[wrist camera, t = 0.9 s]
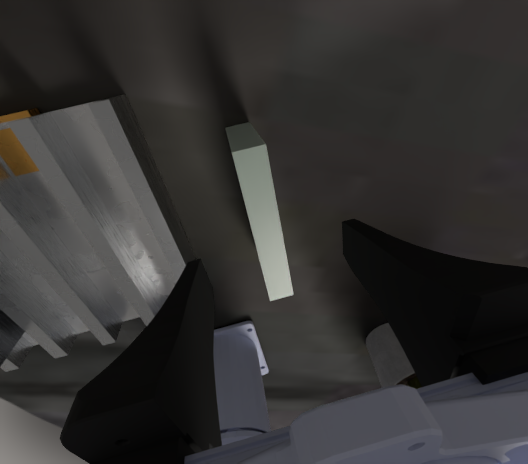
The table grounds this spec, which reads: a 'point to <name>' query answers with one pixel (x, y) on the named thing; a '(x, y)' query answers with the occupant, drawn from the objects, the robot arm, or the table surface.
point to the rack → (81, 228)
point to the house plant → (390, 358)
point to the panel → (261, 206)
